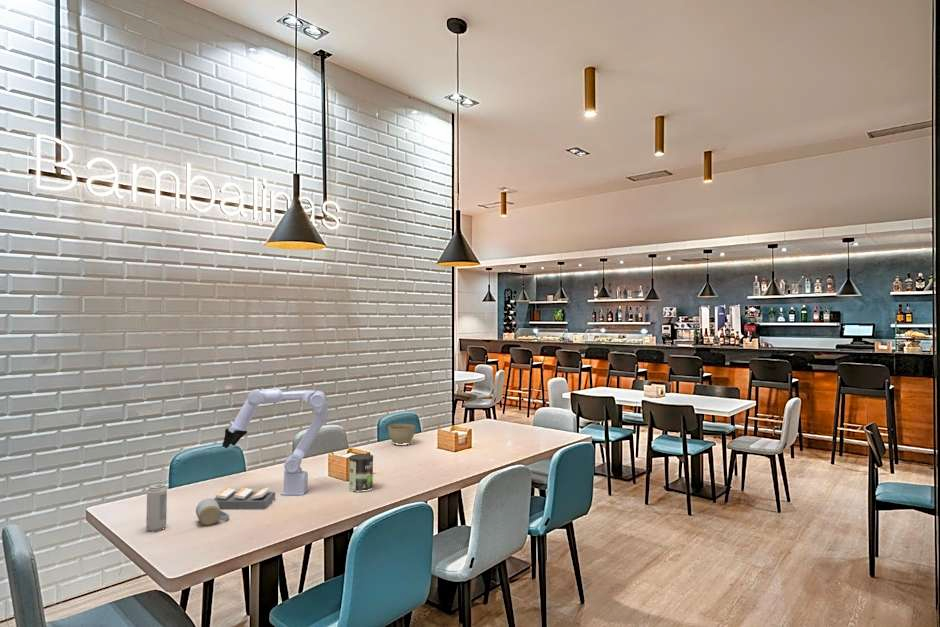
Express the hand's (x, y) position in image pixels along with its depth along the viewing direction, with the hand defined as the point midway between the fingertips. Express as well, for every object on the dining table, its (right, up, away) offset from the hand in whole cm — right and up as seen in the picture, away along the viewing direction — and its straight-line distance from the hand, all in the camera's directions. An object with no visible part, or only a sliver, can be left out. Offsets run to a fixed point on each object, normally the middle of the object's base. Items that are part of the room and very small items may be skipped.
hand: (228, 445), depth 227 cm
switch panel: (+10, -21, -10) cm, 25 cm away
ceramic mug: (+7, -21, -29) cm, 36 cm away
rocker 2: (+17, -17, -10) cm, 26 cm away
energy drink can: (-9, -20, -37) cm, 43 cm away
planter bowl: (+60, -23, +98) cm, 117 cm away
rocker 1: (+4, -17, -10) cm, 20 cm away
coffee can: (+53, -22, +11) cm, 58 cm away
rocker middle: (+10, -17, -10) cm, 22 cm away
